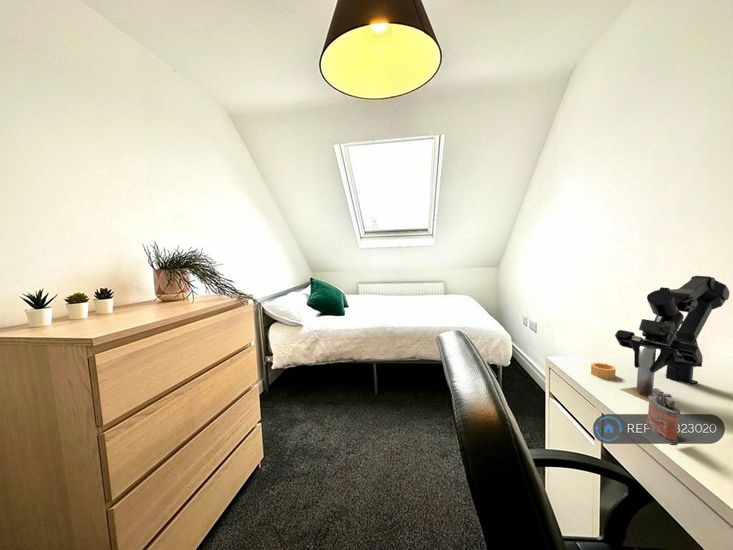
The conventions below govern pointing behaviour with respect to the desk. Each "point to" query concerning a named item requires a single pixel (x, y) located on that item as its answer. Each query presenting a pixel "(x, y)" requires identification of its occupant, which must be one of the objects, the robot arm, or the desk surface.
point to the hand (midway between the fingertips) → (643, 369)
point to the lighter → (663, 416)
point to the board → (637, 393)
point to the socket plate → (603, 370)
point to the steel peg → (646, 369)
